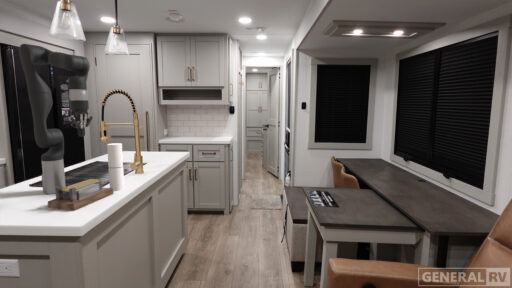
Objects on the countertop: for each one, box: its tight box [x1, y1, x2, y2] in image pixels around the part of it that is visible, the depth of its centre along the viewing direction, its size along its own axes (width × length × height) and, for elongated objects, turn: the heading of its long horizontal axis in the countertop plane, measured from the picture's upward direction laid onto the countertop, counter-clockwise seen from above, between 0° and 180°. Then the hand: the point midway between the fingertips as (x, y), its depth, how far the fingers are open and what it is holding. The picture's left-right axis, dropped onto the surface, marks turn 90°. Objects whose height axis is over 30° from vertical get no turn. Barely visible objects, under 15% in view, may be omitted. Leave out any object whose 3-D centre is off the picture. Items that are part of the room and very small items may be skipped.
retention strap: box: [59, 178, 100, 192], centre depth 134 cm, size 5×18×2 cm, turn 168°
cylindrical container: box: [106, 142, 125, 192], centre depth 153 cm, size 7×7×25 cm
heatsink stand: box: [47, 180, 114, 212], centre depth 135 cm, size 14×24×9 cm, turn 168°
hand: (81, 136), depth 133 cm, fingers closed
